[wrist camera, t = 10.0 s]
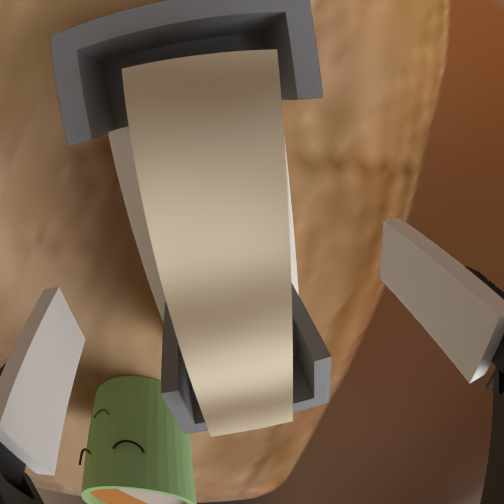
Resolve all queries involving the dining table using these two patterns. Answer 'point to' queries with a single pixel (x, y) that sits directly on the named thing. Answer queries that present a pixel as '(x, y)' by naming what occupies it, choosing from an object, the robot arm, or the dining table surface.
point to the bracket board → (116, 125)
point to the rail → (220, 225)
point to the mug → (136, 447)
